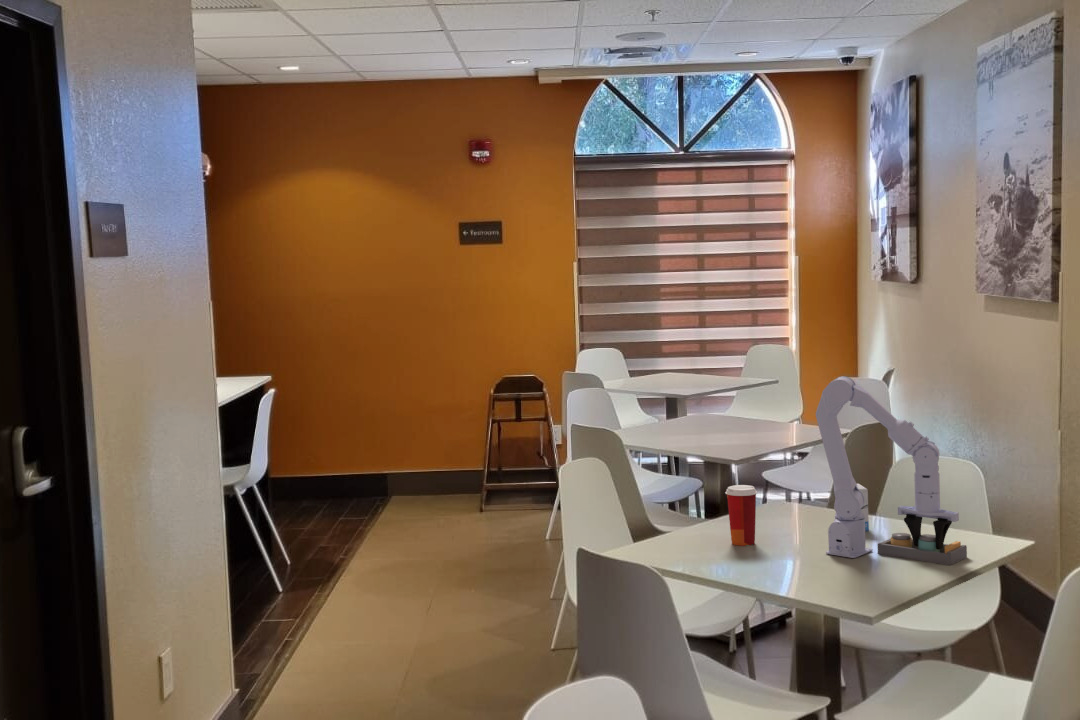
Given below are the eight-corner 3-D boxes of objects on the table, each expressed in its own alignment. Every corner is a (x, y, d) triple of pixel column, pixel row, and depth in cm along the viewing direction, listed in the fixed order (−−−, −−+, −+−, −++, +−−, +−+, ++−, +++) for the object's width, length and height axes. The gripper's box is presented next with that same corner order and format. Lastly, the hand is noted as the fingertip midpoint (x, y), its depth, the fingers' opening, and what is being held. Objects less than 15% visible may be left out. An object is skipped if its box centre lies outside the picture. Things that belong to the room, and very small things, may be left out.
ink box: (869, 531, 275) (868, 488, 275) (851, 531, 275) (850, 489, 275) (860, 524, 284) (859, 482, 283) (842, 524, 284) (841, 483, 283)
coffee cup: (757, 539, 272) (755, 484, 271) (760, 546, 264) (758, 489, 263) (725, 539, 273) (723, 485, 272) (728, 547, 265) (726, 490, 264)
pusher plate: (949, 563, 240) (948, 547, 240) (945, 562, 241) (944, 546, 241) (961, 557, 244) (960, 541, 244) (956, 557, 245) (956, 541, 245)
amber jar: (906, 556, 249) (906, 538, 248) (887, 553, 252) (886, 535, 252) (916, 552, 252) (915, 534, 252) (897, 549, 256) (896, 531, 255)
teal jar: (935, 558, 244) (935, 540, 243) (915, 555, 247) (914, 537, 247) (943, 553, 247) (943, 535, 247) (922, 550, 251) (922, 532, 250)
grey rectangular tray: (950, 565, 238) (950, 552, 238) (877, 553, 252) (877, 541, 252) (967, 557, 245) (966, 545, 244) (895, 546, 258) (895, 534, 258)
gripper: (963, 492, 243) (965, 547, 244) (906, 486, 254) (908, 539, 255) (950, 497, 239) (952, 553, 239) (893, 490, 249) (894, 545, 250)
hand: (928, 546), depth 247 cm, fingers closed on teal jar, 5 cm apart
